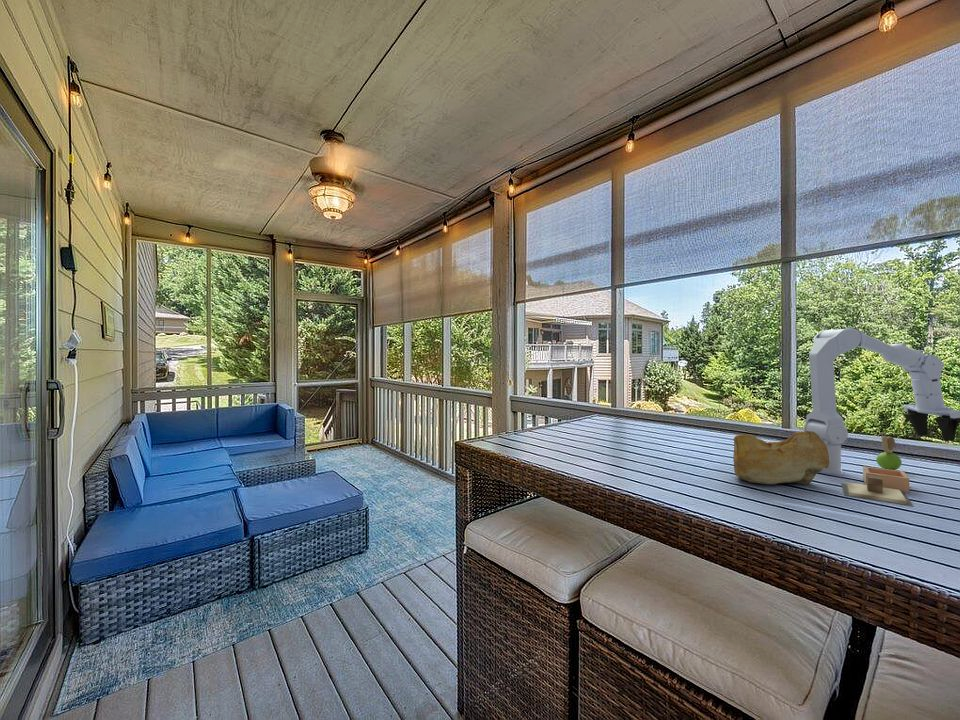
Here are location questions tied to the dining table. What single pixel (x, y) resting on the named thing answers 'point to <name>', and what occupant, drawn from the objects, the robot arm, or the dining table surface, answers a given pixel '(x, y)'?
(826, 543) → the dining table surface
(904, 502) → the lid
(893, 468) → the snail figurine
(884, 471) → the tan square open box
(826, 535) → the dining table surface
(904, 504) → the mat
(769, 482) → the rough brown rock
